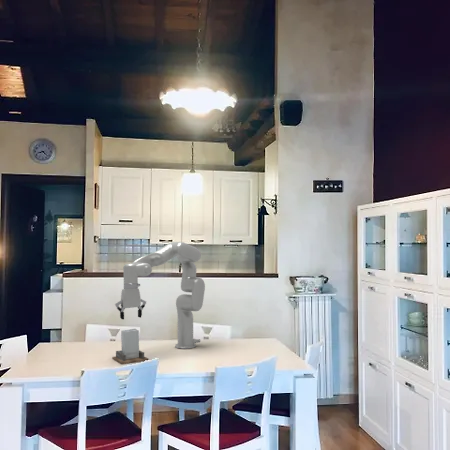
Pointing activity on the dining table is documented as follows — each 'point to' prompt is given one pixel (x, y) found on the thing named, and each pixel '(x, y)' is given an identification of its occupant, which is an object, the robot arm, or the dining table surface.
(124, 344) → the skincare box
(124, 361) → the u rest
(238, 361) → the dining table surface
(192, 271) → the robot arm
